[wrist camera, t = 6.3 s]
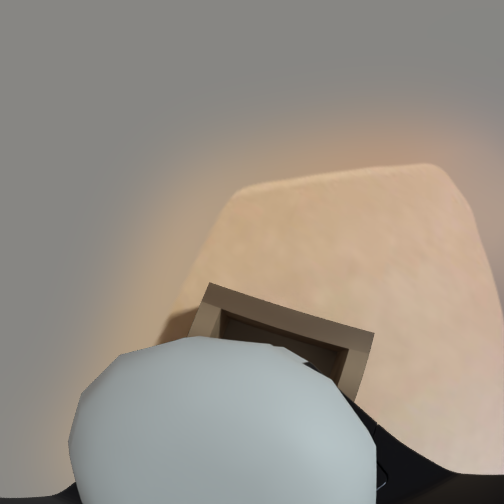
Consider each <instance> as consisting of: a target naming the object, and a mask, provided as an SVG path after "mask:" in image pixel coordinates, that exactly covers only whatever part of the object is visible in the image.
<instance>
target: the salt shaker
mask: <svg viewBox="0 0 504 504" xmlns="http://www.w3.org/2000/svg"><path fill="white" fill-rule="evenodd" d="M304 362H308V361H307V360H305V359H303V358H301V357H300V356H298V355H296V354H295V353H293V352H291V351H289V350H288V349H286V348H284V347H276V346H272V345H271V344H264V343H254V342H244V341H234V340H226V339H218V338H210V337H203V336H196V337H187V338H182V339H178V340H175V341H171V342H168V343H164V344H160V345H156V346H153V347H149V348H145V349H141V350H137V351H133V352H129V353H125V354H122V355H119V356H118V357H117V358H116V359H115V360H114V361H113V362H112V363H111V364H110V365H109V366H108V367H107V368H106V369H105V370H104V371H103V372H102V373H101V374H100V375H99V376H98V377H97V378H96V379H95V380H94V381H93V382H92V383H91V384H90V385H89V386H88V387H87V389H85V390H84V391H83V392H82V394H81V397H80V400H79V403H78V407H77V410H76V413H75V417H74V421H73V424H72V428H71V432H70V436H69V440H68V445H69V454H70V460H71V464H72V469H73V473H74V477H75V481H76V484H77V488H78V491H79V495H80V498H81V501H82V503H83V504H376V445H375V443H374V441H373V439H372V437H371V435H370V433H369V431H368V430H367V428H366V427H365V426H364V424H363V423H362V421H361V420H360V419H359V417H358V416H357V414H356V413H355V412H354V410H353V409H352V407H351V406H350V405H349V403H348V402H347V401H346V399H345V398H344V396H343V395H342V394H341V392H340V391H339V389H338V388H337V387H336V385H335V384H334V382H333V381H332V380H331V379H330V378H328V377H326V376H324V375H322V374H320V373H319V372H317V371H315V370H313V369H311V368H310V367H308V366H306V365H304V364H303V363H304Z"/></svg>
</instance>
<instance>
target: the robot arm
mask: <svg viewBox="0 0 504 504" xmlns="http://www.w3.org/2000/svg"><path fill="white" fill-rule="evenodd" d="M303 364H304V365H306V366H308V367H310V368H311V369H313V370H315V371H317V372H319V373H320V374H322V375H324V374H323V373H322V372H321V371H320V370H319V369H318V368H316V367H315V366H314V365H313V364H312V363H311V362H304V363H303ZM324 376H325V375H324ZM336 387H337V386H336ZM337 388H338V387H337ZM338 389H339V388H338ZM339 391H340V392H341V394H342V395H343V396H344V398H345V399H346V401H347V402H348V403H349V405H350V406H351V407H352V409H353V410H354V412H355V413H356V414H357V416H358V417H359V419H360V420H361V421H362V423H363V424H364V426H365V427H366V428H367V430H368V431H369V433H370V435H371V437H372V439H373V441H374V443H375V445H376V504H504V475H476V474H461V473H456V472H452V471H449V470H447V469H445V468H443V467H441V466H439V465H437V464H436V463H434V462H432V461H430V460H429V459H427V458H425V457H424V456H422V455H420V454H419V453H417V452H415V451H414V450H412V449H410V448H409V447H407V446H406V445H404V444H403V443H401V442H400V441H398V440H397V439H396V438H395V437H393V436H392V435H391V434H390V433H388V432H387V431H386V430H385V429H384V428H383V427H381V426H380V425H379V424H378V425H377V422H376V421H374V420H373V419H372V418H371V417H370V416H369V415H368V414H367V413H365V412H364V411H363V410H362V409H361V408H360V407H359V406H358V405H356V404H355V403H354V402H353V401H352V400H351V399H350V398H349V397H348V396H347V395H345V394H344V393H343V392H342V391H341V390H340V389H339ZM0 504H83V503H82V501H81V498H80V495H79V491H78V488H77V484H76V482H75V483H73V484H72V485H71V486H69V487H68V488H67V489H65V490H64V491H62V492H60V493H58V494H55V495H52V496H45V497H32V498H0Z"/></svg>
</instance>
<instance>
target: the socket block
mask: <svg viewBox="0 0 504 504" xmlns="http://www.w3.org/2000/svg"><path fill="white" fill-rule="evenodd" d="M196 336H203V337H210V338H218V339H226V340H234V341H244V342H254V343H264V344H271V345H272V346H276V347H284V348H286V349H288V350H289V351H291V352H293V353H295V354H296V355H298V356H300V357H301V358H303V359H305V360H307V361H308V362H311V363H312V364H313V365H314V366H315V367H316V368H318V369H319V370H320V371H321V372H322V373H323V374H324V375H325V376H326V377H328V378H330V379H331V380H332V381H333V382H334V384H335V385H336V386H337V387H338V388H339V389H340V390H341V391H342V392H343V393H344V394H345V395H347V396H348V397H349V398H350V399H351V400H352V401H353V402H354V401H355V398H356V395H357V392H358V389H359V386H360V383H361V380H362V376H363V373H364V370H365V366H366V363H367V360H368V356H369V352H370V349H371V345H372V341H373V337H374V333H372V332H368V331H365V330H361V329H357V328H354V327H350V326H347V325H343V324H340V323H336V322H333V321H329V320H326V319H322V318H319V317H315V316H312V315H309V314H305V313H302V312H299V311H296V310H292V309H289V308H286V307H283V306H279V305H276V304H273V303H270V302H267V301H264V300H261V299H258V298H254V297H251V296H248V295H245V294H242V293H239V292H236V291H233V290H230V289H227V288H225V287H222V286H219V285H216V284H213V283H210V282H209V285H208V287H207V290H206V292H205V294H204V297H203V299H202V302H201V304H200V306H199V309H198V311H197V314H196V316H195V319H194V321H193V323H192V326H191V328H190V331H189V333H188V336H187V337H196Z"/></svg>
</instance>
